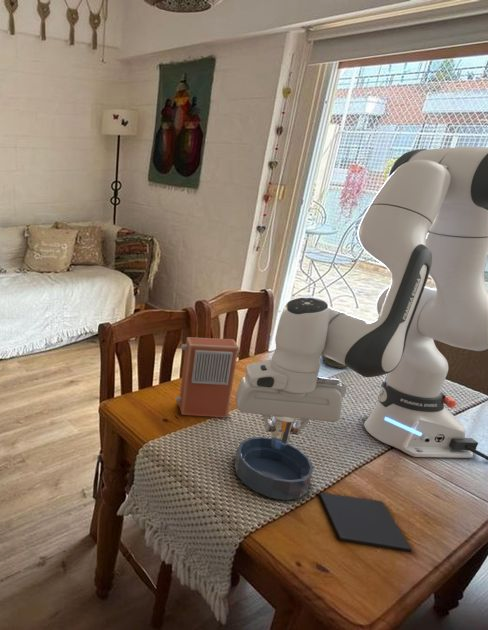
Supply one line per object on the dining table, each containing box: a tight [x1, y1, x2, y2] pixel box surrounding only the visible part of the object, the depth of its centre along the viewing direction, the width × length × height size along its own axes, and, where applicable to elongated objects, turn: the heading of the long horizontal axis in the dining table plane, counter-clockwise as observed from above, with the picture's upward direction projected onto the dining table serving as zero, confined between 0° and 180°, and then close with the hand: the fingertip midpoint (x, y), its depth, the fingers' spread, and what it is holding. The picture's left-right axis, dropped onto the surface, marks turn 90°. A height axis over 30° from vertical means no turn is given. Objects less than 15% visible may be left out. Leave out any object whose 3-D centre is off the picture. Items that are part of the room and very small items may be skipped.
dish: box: [234, 436, 314, 501], centre depth 98 cm, size 15×15×5 cm
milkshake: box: [270, 416, 297, 450], centre depth 95 cm, size 4×5×10 cm
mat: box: [318, 492, 412, 552], centre depth 87 cm, size 12×12×1 cm
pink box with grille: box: [175, 336, 240, 419], centre depth 120 cm, size 21×7×15 cm
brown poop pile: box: [321, 356, 348, 369], centre depth 151 cm, size 11×12×10 cm
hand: (281, 431), depth 95 cm, fingers closed on milkshake, 4 cm apart
